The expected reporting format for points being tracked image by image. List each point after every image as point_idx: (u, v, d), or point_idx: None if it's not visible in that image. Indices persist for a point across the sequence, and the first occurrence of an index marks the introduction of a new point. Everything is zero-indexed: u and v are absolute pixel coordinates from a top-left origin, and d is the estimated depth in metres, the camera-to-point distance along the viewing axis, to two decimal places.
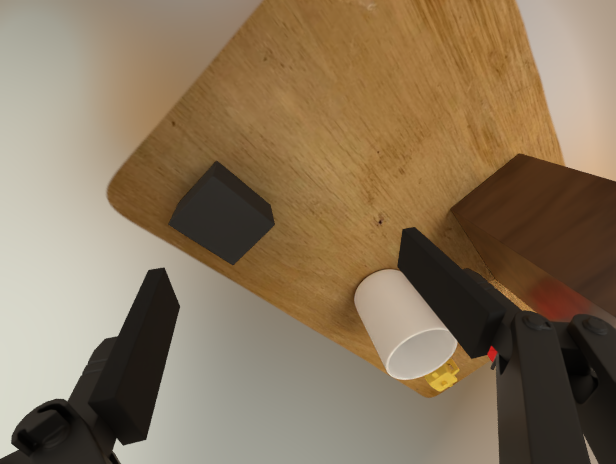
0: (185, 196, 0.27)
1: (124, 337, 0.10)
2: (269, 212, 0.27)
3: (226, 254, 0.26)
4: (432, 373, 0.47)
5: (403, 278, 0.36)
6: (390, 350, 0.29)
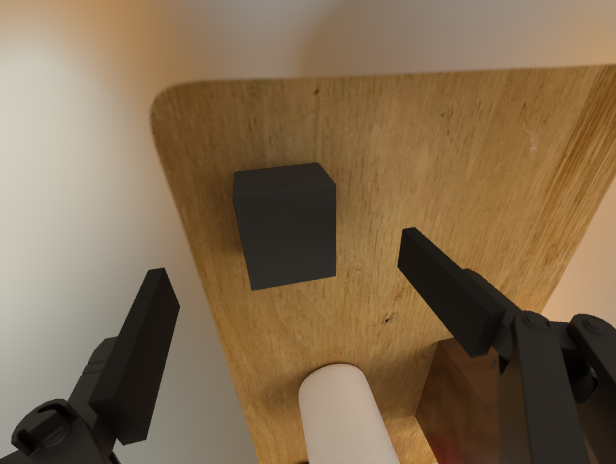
0: (255, 172, 0.19)
1: (124, 337, 0.10)
2: None
3: (258, 274, 0.18)
4: None
5: (368, 386, 0.32)
6: None
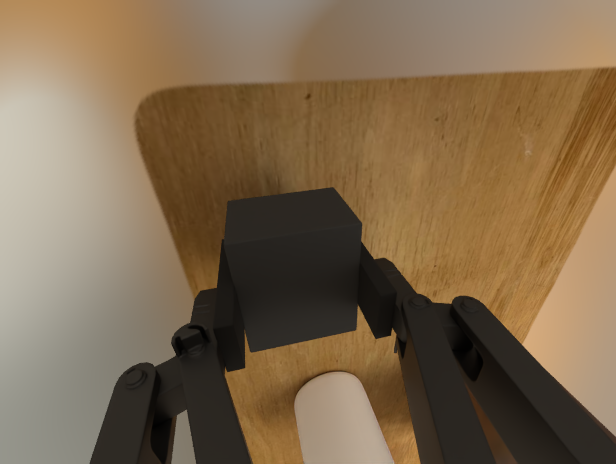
0: (254, 202, 0.15)
1: (223, 286, 0.12)
2: None
3: (259, 334, 0.14)
4: None
5: (365, 394, 0.31)
6: None
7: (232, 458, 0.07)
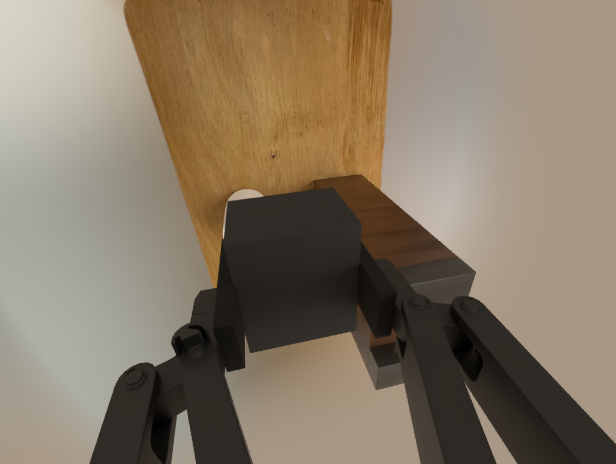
0: (253, 202, 0.15)
1: (223, 286, 0.12)
2: None
3: (258, 335, 0.14)
4: None
5: None
6: None
7: (232, 458, 0.07)
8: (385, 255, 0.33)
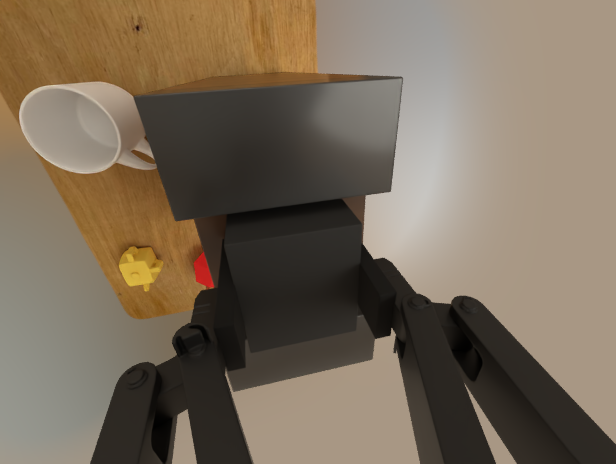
0: None
1: (223, 286, 0.12)
2: None
3: (259, 335, 0.14)
4: (127, 253, 0.43)
5: (131, 100, 0.35)
6: (32, 91, 0.26)
7: (232, 458, 0.07)
8: (213, 84, 0.14)
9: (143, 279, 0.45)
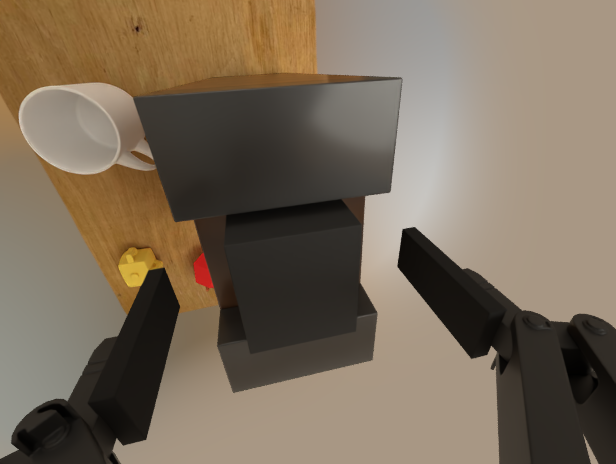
0: None
1: (124, 337, 0.10)
2: None
3: (259, 336, 0.14)
4: (127, 254, 0.43)
5: (130, 100, 0.35)
6: (31, 92, 0.26)
7: None
8: (212, 85, 0.14)
9: (143, 280, 0.45)
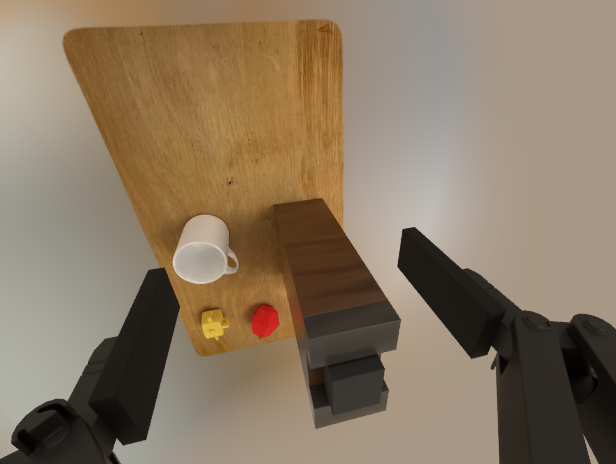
0: None
1: (124, 337, 0.10)
2: None
3: (338, 408, 0.32)
4: (208, 317, 0.61)
5: (223, 226, 0.53)
6: (182, 245, 0.44)
7: None
8: (317, 297, 0.33)
9: (216, 333, 0.63)
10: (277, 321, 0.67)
